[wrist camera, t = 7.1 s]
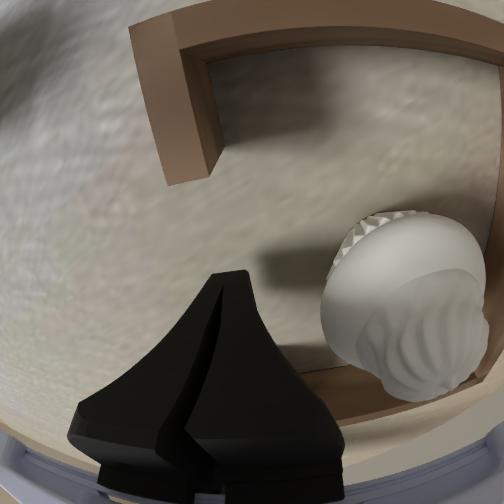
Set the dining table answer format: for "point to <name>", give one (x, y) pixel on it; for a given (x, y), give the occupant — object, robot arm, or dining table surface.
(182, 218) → the dining table surface
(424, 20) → the brown wooden u-shaped frame
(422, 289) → the muffin
